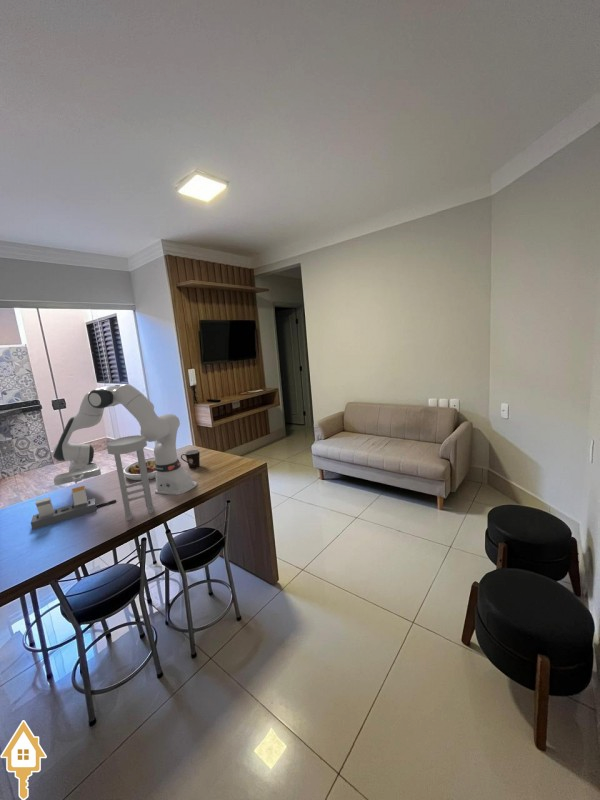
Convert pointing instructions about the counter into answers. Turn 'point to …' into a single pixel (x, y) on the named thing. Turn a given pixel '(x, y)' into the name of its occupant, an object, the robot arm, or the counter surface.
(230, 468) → the counter surface
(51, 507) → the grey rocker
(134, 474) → the bowl
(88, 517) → the counter surface
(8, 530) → the counter surface
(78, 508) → the power strip
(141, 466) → the stool
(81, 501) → the white upright block
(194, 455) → the coffee mug
